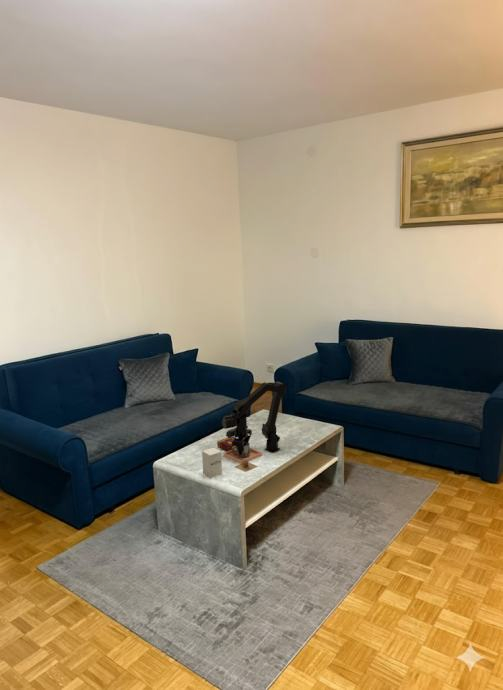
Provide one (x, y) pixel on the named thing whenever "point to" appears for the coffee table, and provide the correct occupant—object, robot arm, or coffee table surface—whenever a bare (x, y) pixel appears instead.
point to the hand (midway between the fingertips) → (242, 451)
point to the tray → (241, 460)
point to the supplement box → (212, 462)
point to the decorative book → (226, 444)
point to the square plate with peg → (246, 466)
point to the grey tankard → (245, 450)
